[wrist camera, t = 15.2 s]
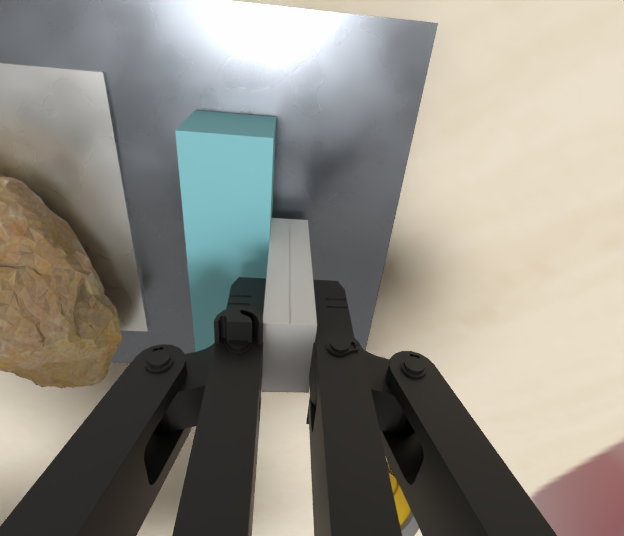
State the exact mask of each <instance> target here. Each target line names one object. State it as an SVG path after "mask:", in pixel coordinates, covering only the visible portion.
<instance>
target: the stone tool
mask: <svg viewBox="0 0 624 536" xmlns="http://www.w3.org/2000/svg"><path fill="white" fill-rule="evenodd" d="M104 289H105V288H104V287H103V285H102V283H101V281H100V278H99V275H98V274H97V273H96V271H95V269H94V268H93V267H92V263H91V261H90V259H89V257H88V256H87V254H86V252H85V250H84V249H83V247H82V245H81V244H80V242H79V240H78V238H77V236H76V234H75V233H74V231H73V230H72V228H71V227H70V225H69V224H68V222H67V221H65V220H64V219H62V218H60V217H59V216H58V215H56V214H55V213H54V212H52V211H51V210H50V209H49V208H48V207H47V206H46V205H45V204H44V202H43V201H42V199H41V197H39V196H37V195H36V194H35V193H34V192H33V191H32V190H30V189H29V188H28V187H27V186H26V185H25V184H24V183H23V182H22V181H19V180H17V179H14V178H10V177H0V370H1V371H6V372H12V373H15V374H16V375H17V376H19V377H22V378H26V379H29V380H32V381H33V382H34V383H35V384H36V385H40V386H41V387H45V386H56V387H59V388H65V387H77V386H87V385H94V384H97V383H99V382H100V381H101V380H102V379H104V377H105V376H106V374H107V372H108V366H109V364H110V362H111V360H112V358H113V356H114V354H115V352H116V351H117V345H118V344H120V343H121V342H122V335H121V332H120V323H119V316H118V312H117V309H116V306H114V305H113V304H112V303H111V301H110V299H109V298H108V297H107V296H106V295H104Z"/></svg>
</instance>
